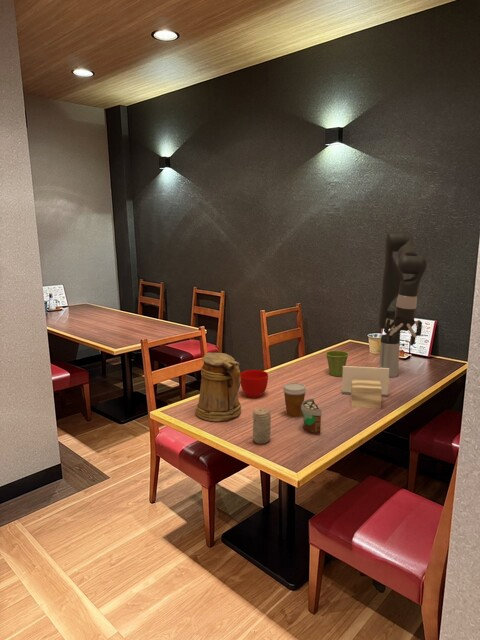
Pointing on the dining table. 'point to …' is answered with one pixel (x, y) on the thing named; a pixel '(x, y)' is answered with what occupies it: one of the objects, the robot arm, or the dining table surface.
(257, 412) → the beige textured cylinder
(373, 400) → the beech block
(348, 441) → the dining table surface
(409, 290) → the robot arm
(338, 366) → the plant pot
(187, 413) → the dining table surface
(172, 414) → the dining table surface
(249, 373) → the ceramic cup
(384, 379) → the letter sign
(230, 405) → the tankard
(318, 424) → the food container
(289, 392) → the disposable coffee cup
